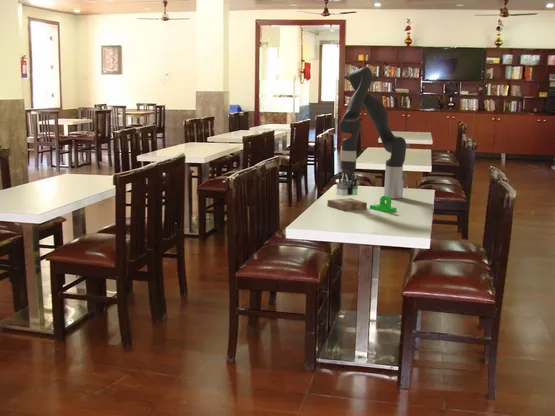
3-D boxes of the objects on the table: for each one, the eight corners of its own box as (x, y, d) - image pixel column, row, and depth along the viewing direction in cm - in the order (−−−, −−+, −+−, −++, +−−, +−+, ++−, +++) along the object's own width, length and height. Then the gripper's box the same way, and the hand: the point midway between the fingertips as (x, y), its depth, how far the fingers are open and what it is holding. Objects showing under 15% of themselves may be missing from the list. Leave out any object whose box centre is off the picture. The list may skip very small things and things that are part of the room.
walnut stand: (350, 204, 323) (350, 198, 322) (366, 208, 311) (366, 202, 310) (327, 205, 316) (327, 200, 316) (343, 210, 304) (343, 204, 304)
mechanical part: (396, 211, 306) (397, 195, 304) (387, 213, 302) (388, 196, 301) (378, 208, 315) (379, 192, 314) (369, 209, 312) (370, 193, 310)
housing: (336, 194, 313) (337, 182, 312) (351, 193, 317) (352, 181, 316) (342, 196, 308) (342, 183, 307) (357, 195, 313) (357, 183, 312)
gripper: (334, 158, 314) (332, 192, 317) (350, 161, 302) (348, 196, 305) (346, 158, 317) (345, 191, 321) (363, 161, 305) (361, 195, 308)
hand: (347, 193), depth 313 cm, fingers closed on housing, 5 cm apart
